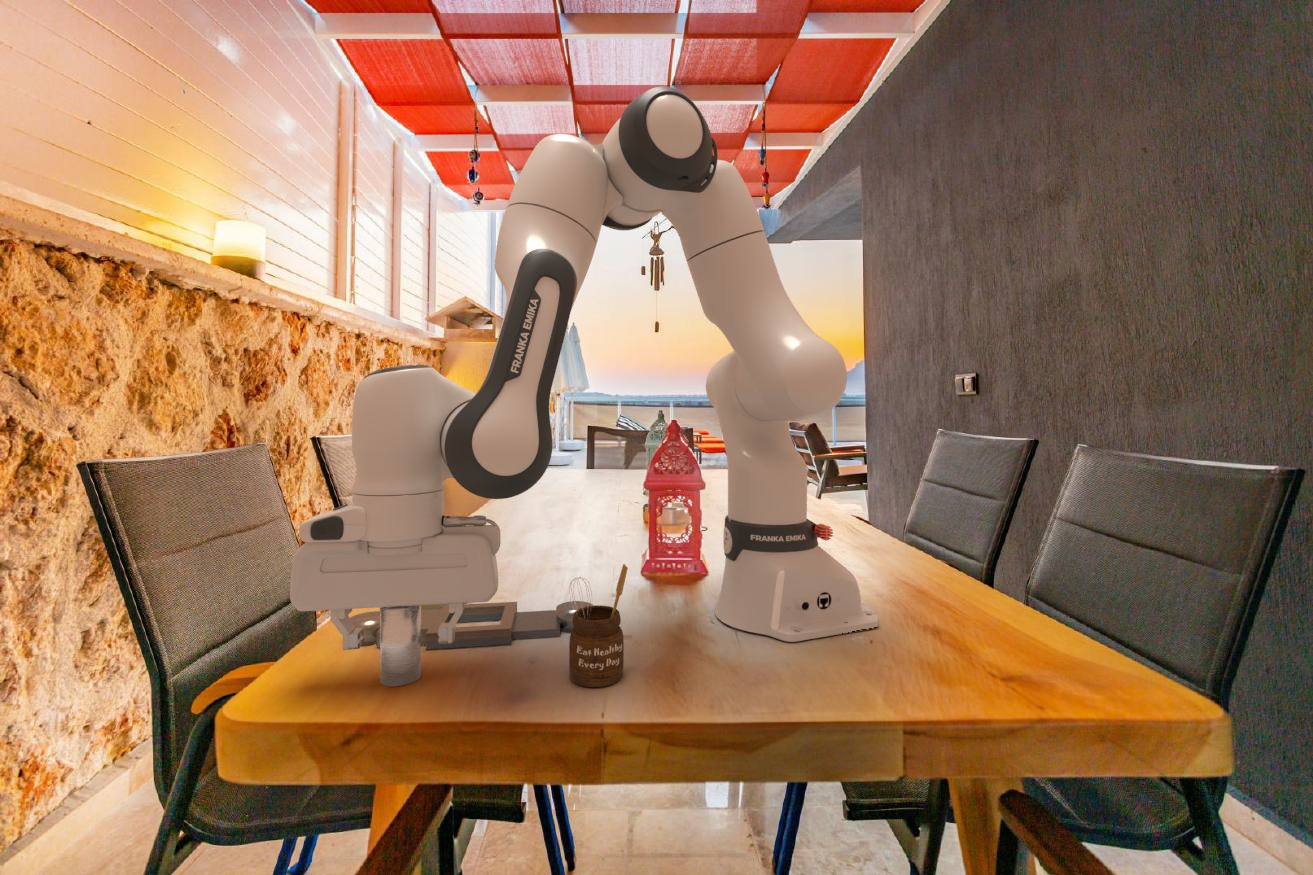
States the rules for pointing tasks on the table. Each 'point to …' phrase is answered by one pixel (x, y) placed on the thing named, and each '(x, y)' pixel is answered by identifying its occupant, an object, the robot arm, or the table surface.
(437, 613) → the upper chain link
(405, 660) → the steel pin
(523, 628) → the lower chain link
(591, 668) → the utensil holder
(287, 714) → the table surface
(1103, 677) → the table surface
